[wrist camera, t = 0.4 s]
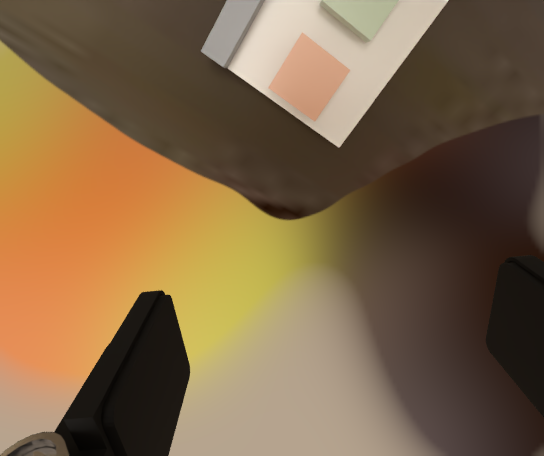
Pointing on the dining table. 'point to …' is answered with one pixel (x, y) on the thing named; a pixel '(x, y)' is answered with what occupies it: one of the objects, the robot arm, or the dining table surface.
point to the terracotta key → (308, 77)
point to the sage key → (360, 14)
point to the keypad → (327, 34)
